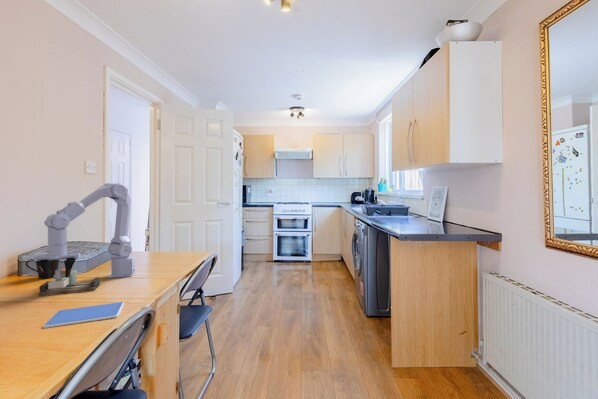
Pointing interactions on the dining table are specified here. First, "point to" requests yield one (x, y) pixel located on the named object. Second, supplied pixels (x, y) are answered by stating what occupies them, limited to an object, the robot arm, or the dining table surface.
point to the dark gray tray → (69, 288)
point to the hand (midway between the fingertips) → (58, 277)
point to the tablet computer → (85, 314)
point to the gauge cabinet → (71, 277)
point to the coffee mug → (40, 272)
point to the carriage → (58, 281)
